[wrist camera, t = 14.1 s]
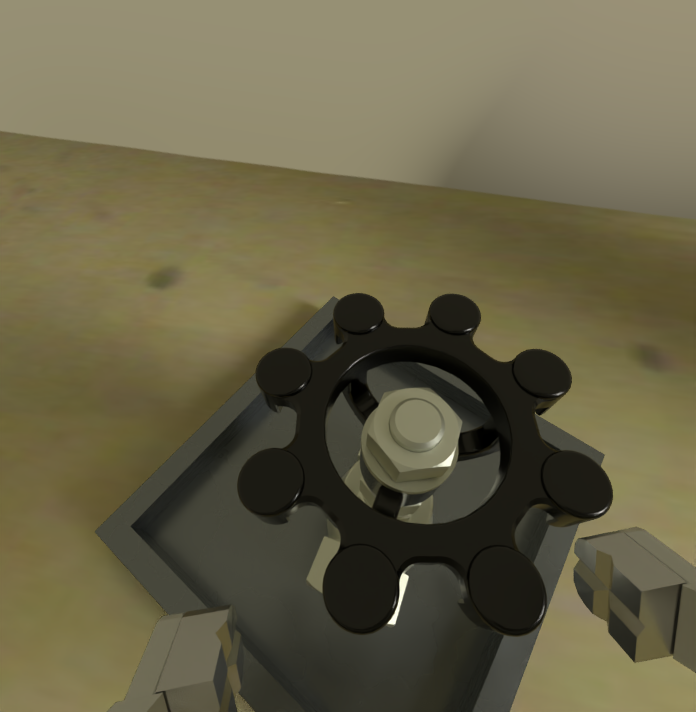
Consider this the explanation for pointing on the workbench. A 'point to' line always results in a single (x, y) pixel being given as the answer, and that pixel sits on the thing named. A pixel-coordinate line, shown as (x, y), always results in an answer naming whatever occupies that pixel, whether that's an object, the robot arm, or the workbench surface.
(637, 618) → the robot arm
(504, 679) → the dark gray tray
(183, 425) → the workbench surface
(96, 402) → the workbench surface
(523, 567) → the valve
